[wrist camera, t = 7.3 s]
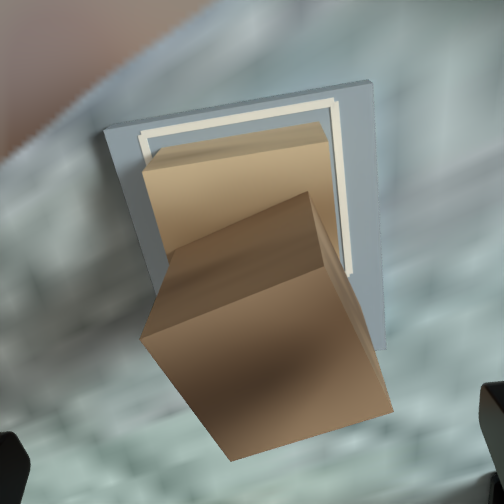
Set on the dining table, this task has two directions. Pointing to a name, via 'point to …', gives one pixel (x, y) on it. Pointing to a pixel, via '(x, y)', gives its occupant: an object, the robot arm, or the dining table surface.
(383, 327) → the mat
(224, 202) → the oak base block
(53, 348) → the dining table surface
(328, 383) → the walnut cube
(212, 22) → the dining table surface
